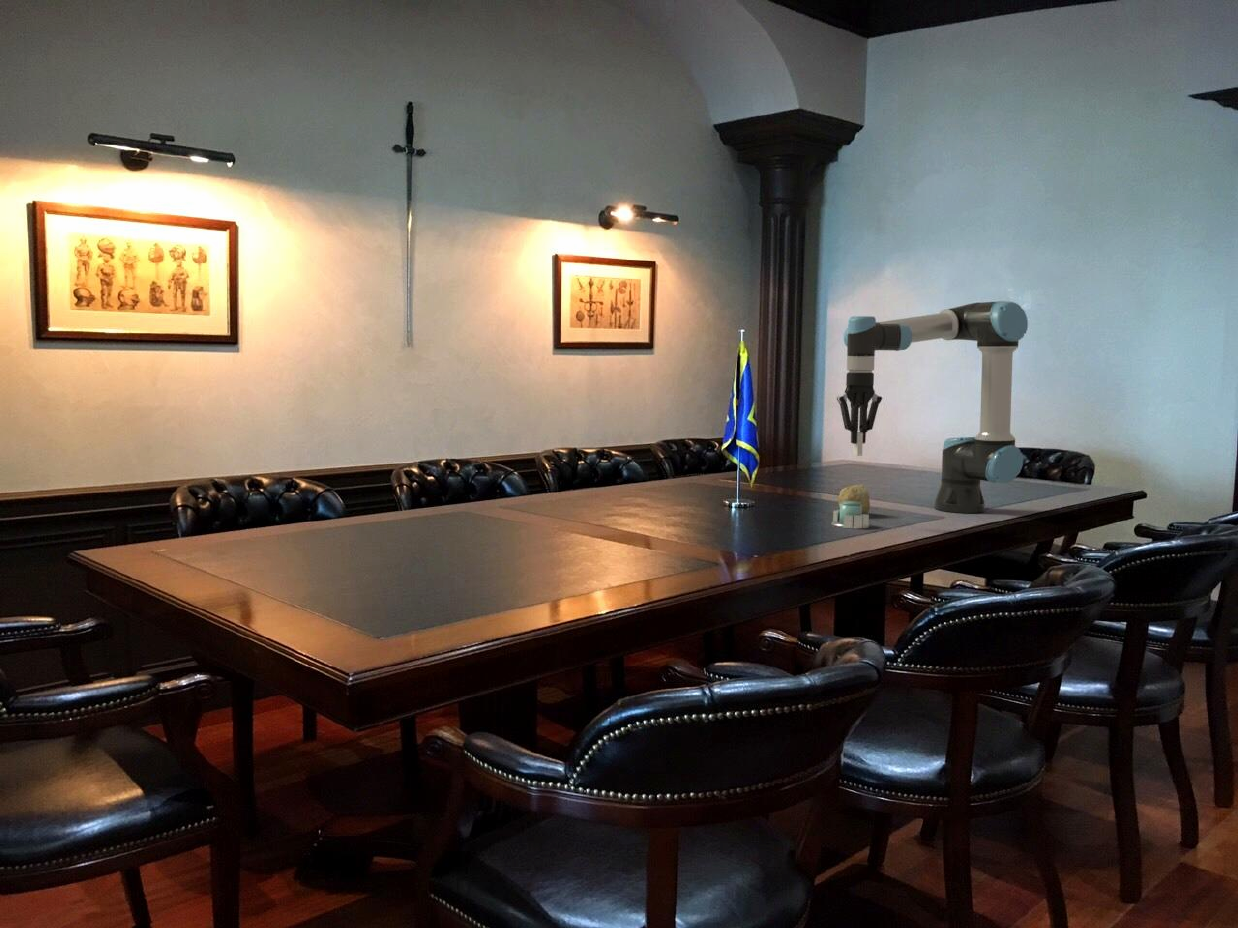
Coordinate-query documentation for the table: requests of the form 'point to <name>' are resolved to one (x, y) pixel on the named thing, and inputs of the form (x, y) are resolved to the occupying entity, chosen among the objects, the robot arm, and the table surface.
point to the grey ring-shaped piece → (851, 520)
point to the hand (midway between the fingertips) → (857, 455)
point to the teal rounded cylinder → (849, 509)
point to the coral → (856, 496)
